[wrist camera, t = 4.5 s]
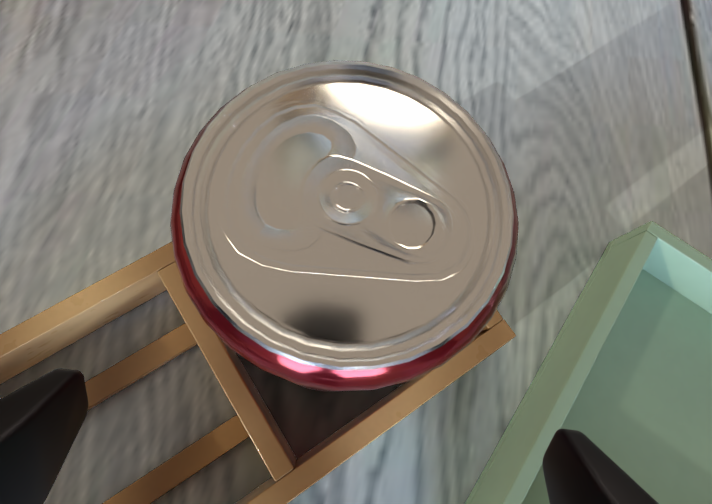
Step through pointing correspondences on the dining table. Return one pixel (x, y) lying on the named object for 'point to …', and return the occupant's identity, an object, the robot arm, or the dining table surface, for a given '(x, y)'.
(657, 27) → the dining table surface
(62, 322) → the cup rack
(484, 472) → the wash tray
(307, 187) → the soda can
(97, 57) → the dining table surface
